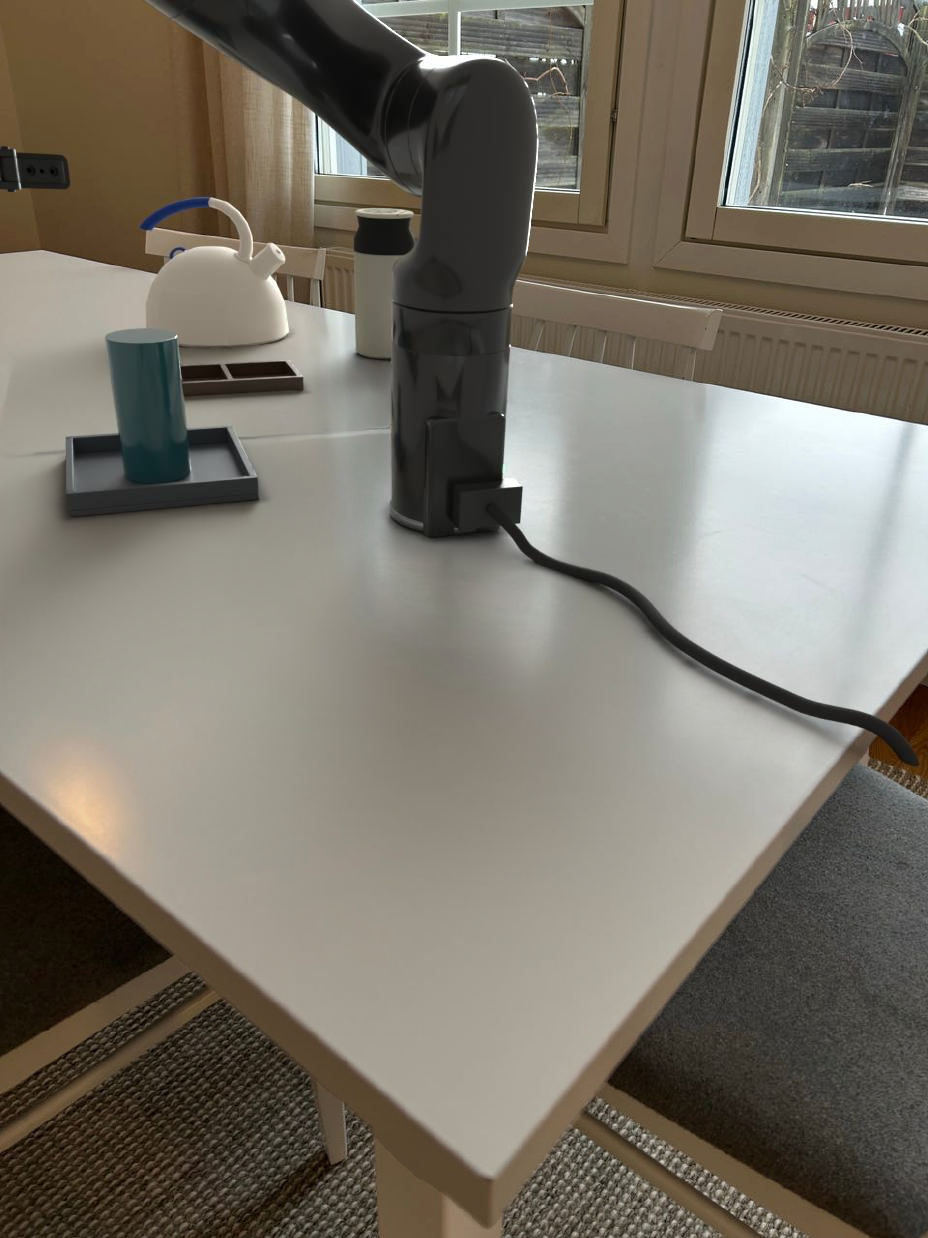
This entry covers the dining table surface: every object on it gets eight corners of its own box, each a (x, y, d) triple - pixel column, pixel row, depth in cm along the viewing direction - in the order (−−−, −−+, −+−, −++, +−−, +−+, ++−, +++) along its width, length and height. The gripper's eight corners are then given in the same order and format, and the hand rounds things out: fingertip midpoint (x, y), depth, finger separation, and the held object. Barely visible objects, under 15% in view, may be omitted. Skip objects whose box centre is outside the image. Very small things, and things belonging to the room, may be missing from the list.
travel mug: (346, 356, 128) (342, 211, 119) (369, 344, 135) (368, 206, 126) (400, 362, 126) (401, 215, 117) (422, 350, 132) (424, 210, 124)
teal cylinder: (195, 480, 84) (180, 341, 78) (125, 486, 82) (105, 344, 76) (188, 459, 88) (173, 326, 83) (122, 464, 86) (103, 329, 81)
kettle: (264, 353, 128) (255, 207, 119) (119, 342, 130) (99, 198, 122) (309, 323, 145) (304, 195, 137) (180, 314, 148) (167, 187, 139)
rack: (303, 392, 111) (303, 376, 110) (158, 401, 106) (156, 384, 105) (289, 374, 118) (289, 359, 117) (152, 382, 113) (150, 366, 112)
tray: (259, 499, 81) (257, 477, 81) (69, 517, 77) (65, 493, 76) (233, 444, 94) (231, 424, 93) (69, 457, 89) (65, 436, 88)
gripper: (-201, 86, 53) (79, 110, 64) (-266, 98, 61) (-11, 117, 72) (-168, 232, 56) (94, 231, 67) (-235, 223, 65) (6, 224, 75)
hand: (39, 172), depth 70 cm, fingers open, 8 cm apart
